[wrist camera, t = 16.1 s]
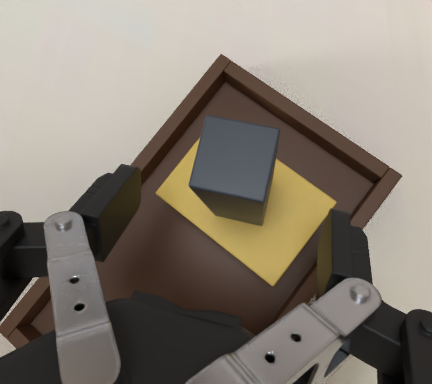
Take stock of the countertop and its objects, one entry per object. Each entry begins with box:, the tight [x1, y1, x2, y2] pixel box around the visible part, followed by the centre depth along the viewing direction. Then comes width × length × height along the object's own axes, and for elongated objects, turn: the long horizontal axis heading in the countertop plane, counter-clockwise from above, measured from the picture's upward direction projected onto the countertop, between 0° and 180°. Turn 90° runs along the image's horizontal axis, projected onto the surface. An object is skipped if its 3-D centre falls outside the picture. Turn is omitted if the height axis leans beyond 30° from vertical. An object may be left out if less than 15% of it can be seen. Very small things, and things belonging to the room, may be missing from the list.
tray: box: [0, 54, 402, 349], centre depth 23 cm, size 13×21×2 cm, turn 142°
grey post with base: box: [156, 115, 337, 286], centre depth 18 cm, size 8×6×11 cm
